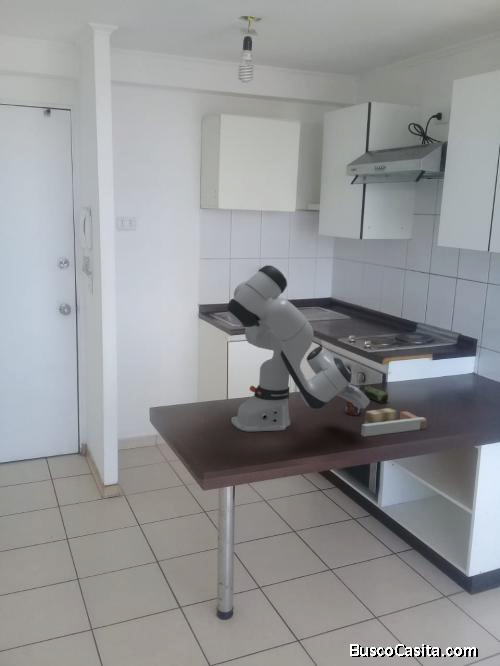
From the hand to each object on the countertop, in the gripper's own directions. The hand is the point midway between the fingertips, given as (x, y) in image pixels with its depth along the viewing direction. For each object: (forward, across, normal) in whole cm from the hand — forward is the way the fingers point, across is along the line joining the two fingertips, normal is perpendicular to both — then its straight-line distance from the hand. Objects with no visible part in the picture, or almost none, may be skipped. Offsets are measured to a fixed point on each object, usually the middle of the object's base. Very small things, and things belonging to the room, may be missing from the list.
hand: (359, 406), depth 223 cm
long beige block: (+15, +1, -1) cm, 15 cm away
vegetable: (+29, +33, -16) cm, 47 cm away
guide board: (+17, +2, -3) cm, 17 cm away
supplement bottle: (+15, +19, -1) cm, 24 cm away
